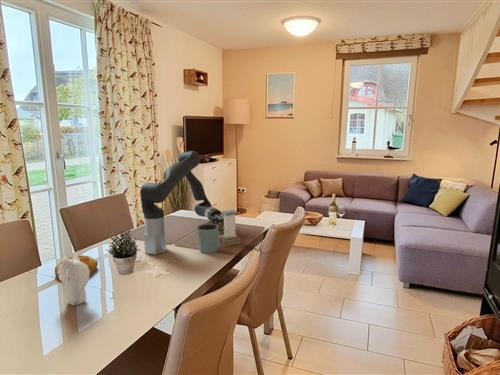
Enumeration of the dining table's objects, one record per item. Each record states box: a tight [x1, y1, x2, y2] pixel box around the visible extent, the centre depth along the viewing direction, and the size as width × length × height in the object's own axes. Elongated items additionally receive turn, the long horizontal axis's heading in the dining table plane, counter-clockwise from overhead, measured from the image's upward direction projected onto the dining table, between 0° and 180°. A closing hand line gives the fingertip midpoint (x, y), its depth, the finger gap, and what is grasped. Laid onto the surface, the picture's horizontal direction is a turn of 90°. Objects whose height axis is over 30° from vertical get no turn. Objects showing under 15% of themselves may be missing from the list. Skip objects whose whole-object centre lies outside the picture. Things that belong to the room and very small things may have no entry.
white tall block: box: [221, 209, 238, 239], centre depth 165 cm, size 4×6×14 cm, turn 118°
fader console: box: [218, 226, 242, 248], centre depth 173 cm, size 22×9×3 cm, turn 28°
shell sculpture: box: [57, 252, 90, 306], centre depth 111 cm, size 8×8×18 cm
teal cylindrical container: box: [197, 223, 219, 255], centre depth 157 cm, size 10×10×12 cm
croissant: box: [54, 254, 99, 282], centre depth 133 cm, size 14×16×8 cm
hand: (225, 222), depth 169 cm, fingers closed
